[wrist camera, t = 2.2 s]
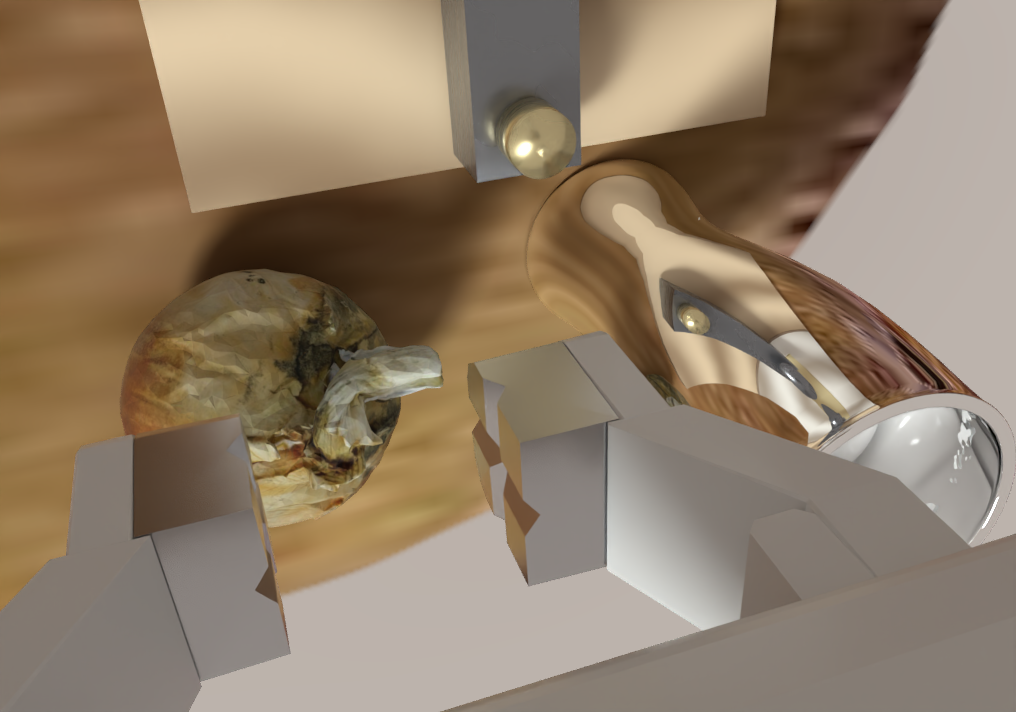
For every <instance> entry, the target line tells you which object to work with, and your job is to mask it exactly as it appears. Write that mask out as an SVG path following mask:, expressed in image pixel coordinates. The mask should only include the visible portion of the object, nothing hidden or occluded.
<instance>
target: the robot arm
mask: <svg viewBox="0 0 1016 712" xmlns="http://www.w3.org/2000/svg"><path fill="white" fill-rule="evenodd" d="M467 378H468V391H469V398H470V400H471V402H472V404H473V406H474V408H475V410H476V412H477V414H478V416H479V418H480V420H479V421H478V423H477V425H476V426H475V428H474V430H473V431H472V435H473V443H474V451H475V459H476V463H477V468H478V472H479V477H480V482H481V484H482V487H483V490H484V493H485V496H486V499H487V501H488V503H489V505H490V507H491V510H492V512H493V514H494V515H495V516H497V517H499V518H502V519H503V520H505V523H506V535H507V544H508V546H509V548H510V550H511V552H512V554H513V556H514V558H515V560H516V562H517V564H518V566H519V568H520V570H521V572H522V574H523V576H524V578H525V580H526V582H527V584H528V586H532V585H536V584H540V583H543V582H548V581H551V580H555V579H559V578H563V577H567V576H571V575H575V574H579V573H583V572H587V571H591V570H595V569H599V568H602V567H606V566H607V570H608V571H609V572H611V573H612V574H614V575H616V576H617V577H619V578H620V579H622V580H624V581H625V582H627V583H628V584H630V585H631V586H633V587H635V588H636V589H638V590H639V591H641V592H643V593H644V594H646V595H647V596H649V597H651V598H652V599H654V600H655V601H657V602H659V603H660V604H662V605H663V606H665V607H666V608H668V609H669V610H671V611H673V612H674V613H676V614H677V615H679V616H681V617H682V618H684V619H685V620H687V621H689V622H690V623H692V624H693V625H695V626H696V627H698V628H700V629H701V630H703V631H700V632H696V633H693V634H690V635H687V636H684V637H680V638H677V639H674V640H670V641H667V642H664V643H661V644H657V645H655V646H651V647H648V648H644V649H641V650H638V651H635V652H631V653H628V654H625V655H622V656H618V657H615V658H612V659H609V660H606V661H603V662H599V663H596V664H593V665H590V666H586V667H583V668H580V669H577V670H573V671H570V672H567V673H564V674H560V675H557V676H554V677H551V678H548V679H544V680H541V681H538V682H535V683H532V684H528V685H525V686H522V687H519V688H515V689H512V690H509V691H506V692H502V693H499V694H496V695H493V696H490V697H486V698H483V699H480V700H477V701H473V702H471V703H467V704H464V705H461V706H457V707H454V708H451V709H448V710H445V711H441V712H1016V534H1013V535H1010V536H1007V537H1004V538H1001V539H998V540H994V541H991V542H988V543H985V544H981V545H978V546H975V547H971V546H970V545H968V544H967V543H966V542H965V541H964V540H963V539H962V538H961V537H960V536H959V535H958V534H957V533H956V532H955V531H954V530H952V529H951V528H950V527H949V526H948V525H947V524H946V523H945V522H944V521H943V520H942V519H941V518H940V517H939V516H938V515H936V514H935V513H934V512H933V511H932V510H931V509H930V508H929V507H928V506H927V505H926V504H925V503H924V502H923V501H921V500H920V499H919V498H918V497H917V496H916V495H915V494H914V493H913V492H912V491H911V490H910V489H909V488H908V487H907V486H905V485H904V484H903V483H902V482H901V481H900V480H899V479H898V478H897V477H894V476H891V475H888V474H885V473H883V472H880V471H877V470H874V469H871V468H868V467H865V466H862V465H859V464H856V463H853V462H850V461H848V460H845V459H842V458H839V457H836V456H833V455H830V454H827V453H824V452H821V451H818V450H815V449H813V448H810V447H807V446H804V445H801V444H798V443H795V442H792V441H789V440H786V439H783V438H780V437H778V436H775V435H772V434H769V433H766V432H763V431H760V430H757V429H754V428H751V427H748V426H745V425H743V424H740V423H737V422H734V421H731V420H728V419H725V418H722V417H719V416H716V415H713V414H710V413H708V412H705V411H702V410H699V409H696V408H693V407H690V406H687V405H684V404H683V405H678V406H674V407H670V406H669V405H668V403H667V402H666V401H665V400H664V399H663V398H662V396H661V395H660V394H659V393H658V392H657V391H656V389H655V388H654V387H653V386H652V385H651V383H650V382H649V381H648V380H647V379H646V378H645V376H644V375H643V374H642V373H641V372H640V371H639V369H638V368H637V367H636V366H635V365H634V364H633V362H632V361H631V360H630V359H629V358H628V356H627V355H626V354H625V353H624V352H623V351H622V349H621V348H620V347H619V346H618V345H617V344H616V342H615V341H614V340H613V339H612V338H611V337H610V335H609V334H608V333H606V332H603V331H597V332H593V333H589V334H585V335H581V336H577V337H573V338H570V339H566V340H562V341H558V342H556V343H552V344H548V345H544V346H540V347H536V348H532V349H528V350H523V351H519V352H515V353H511V354H507V355H503V356H499V357H495V358H491V359H487V360H483V361H478V362H474V363H470V364H468V376H467ZM276 572H277V569H276V563H275V558H274V552H273V547H272V542H271V537H270V532H269V527H268V523H267V518H266V514H265V510H264V505H263V501H262V497H261V493H260V488H259V484H258V483H257V482H256V481H255V477H254V471H253V465H252V460H251V454H250V448H249V445H248V441H247V437H246V434H245V430H244V426H243V423H242V419H241V416H240V413H237V414H232V415H227V416H222V417H217V418H212V419H207V420H202V421H197V422H192V423H187V424H182V425H178V426H173V427H168V428H163V429H158V430H153V431H148V432H143V433H138V434H137V435H136V436H134V435H132V434H131V435H127V436H122V437H118V438H113V439H109V440H105V441H100V442H96V443H92V444H87V445H83V446H81V448H80V449H79V450H78V452H77V453H76V457H75V468H74V478H73V488H72V498H71V509H70V519H69V529H68V539H67V550H66V556H63V557H59V558H55V559H51V560H49V561H48V562H47V563H46V564H45V565H44V566H43V567H42V568H41V569H40V571H39V572H38V573H37V574H36V575H35V576H34V577H33V578H32V579H31V580H30V581H29V582H28V583H27V584H26V585H25V586H24V587H23V588H22V589H21V590H20V592H19V593H18V594H17V595H16V596H15V597H14V598H13V599H12V600H11V601H10V602H9V603H8V604H7V605H6V606H5V607H4V608H3V609H2V610H1V612H0V712H189V710H190V708H191V706H192V704H193V702H194V700H195V698H196V696H197V694H198V693H199V691H200V689H201V687H202V686H201V683H200V682H201V681H204V680H208V679H211V678H214V677H217V676H220V675H224V674H227V673H230V672H233V671H236V670H239V669H243V668H246V667H249V666H253V665H256V664H259V663H262V662H265V661H269V660H272V659H275V658H278V657H281V656H284V655H288V654H290V647H289V641H288V634H287V628H286V622H285V616H284V610H283V604H282V599H281V595H280V591H279V587H278V583H277V579H276V575H275V574H276Z"/></svg>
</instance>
